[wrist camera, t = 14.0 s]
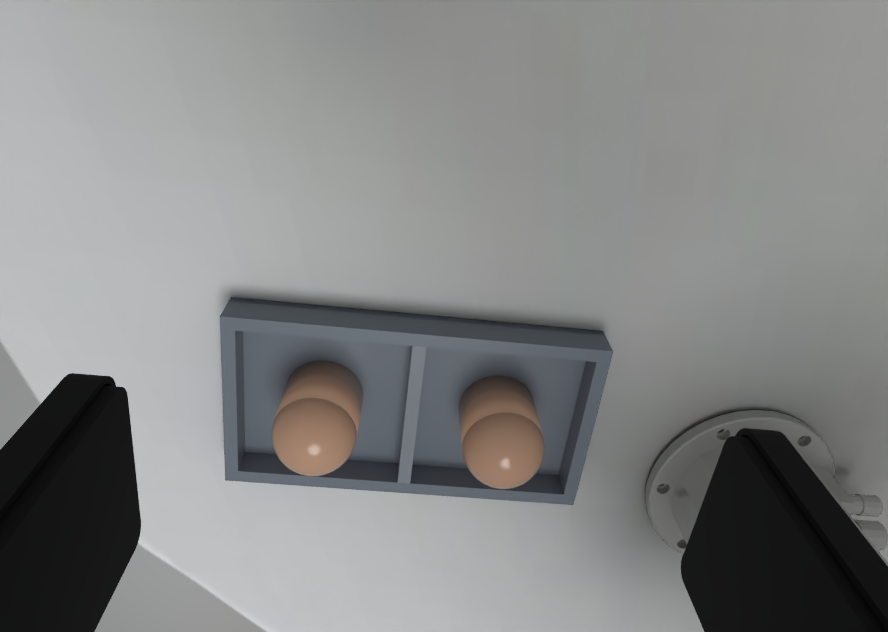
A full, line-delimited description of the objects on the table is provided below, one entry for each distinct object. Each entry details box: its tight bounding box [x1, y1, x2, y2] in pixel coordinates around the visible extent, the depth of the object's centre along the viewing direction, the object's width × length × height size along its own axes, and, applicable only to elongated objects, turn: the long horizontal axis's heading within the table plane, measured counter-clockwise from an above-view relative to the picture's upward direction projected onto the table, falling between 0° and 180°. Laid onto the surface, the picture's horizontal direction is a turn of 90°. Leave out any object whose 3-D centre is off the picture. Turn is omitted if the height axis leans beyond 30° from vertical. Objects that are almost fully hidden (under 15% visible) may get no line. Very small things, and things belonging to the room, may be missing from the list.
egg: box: [272, 361, 363, 476], centre depth 40 cm, size 5×5×6 cm
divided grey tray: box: [220, 297, 613, 505], centre depth 43 cm, size 22×12×2 cm, turn 83°
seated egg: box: [459, 376, 544, 489], centre depth 41 cm, size 5×5×6 cm
